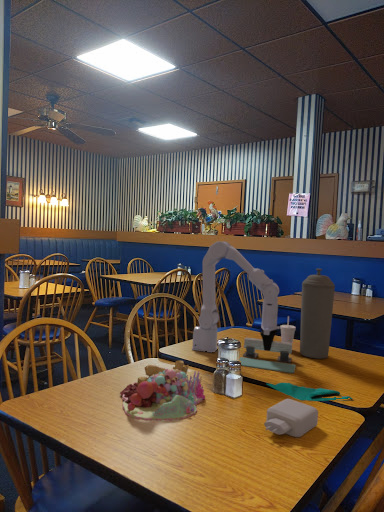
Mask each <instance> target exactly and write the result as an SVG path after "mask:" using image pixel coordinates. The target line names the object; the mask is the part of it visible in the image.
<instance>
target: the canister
mask: <svg viewBox="0 0 384 512" xmlns="http://www.w3.org/2000/svg"><path fill="white" fill-rule="evenodd" d="M315 271H317V272H316V274H310V275H308V276H307V277H306V279H304V280H303V281H302V283H301V303H300V305H301V306H300V307H301V310H300V333H299V334H300V340H299V341H300V342H299V353H300V355H302V356H304V357H306V358H309V359H318V360H322V359H327V358H328V357H329V354H330V353H329V351H330V342H331V341H330V339H331V330H332V329H331V328H332V319H333V308H334V299H335V298H334V297H335V288H336V286H335V283H334V282H333V281H332V280H331V278H330V277H329V276H328V275H323V274H321V272H322V271H323V269H322V268H316V269H315Z"/></svg>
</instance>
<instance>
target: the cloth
mask: <svg viewBox="0 0 384 512" xmlns="http://www.w3.org/2000/svg"><path fill="white" fill-rule="evenodd" d="M266 385H267V386H269V387H271V388H272V389H274V390H276V391H278V392H280V393H283V394H284V395H287V396H290V397H292V398H293V399H296V400H298V401H302V402H303V401H309V402H321V401H322V402H328V401H329V400H336V399H348V398H350V399H353V398H352V397H351V396H349V395H347V396H341V397H342V398H336V397H334V398H322V397H323V396H331V395H334V394H335V395H339V394H341V392H340V391H338V390H333V389H327V388H322V387H319V388H311V387H306V386H298V385H295V384H293V383H290V382H279V383H275V384H272V383H266ZM329 402H330V401H329Z"/></svg>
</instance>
